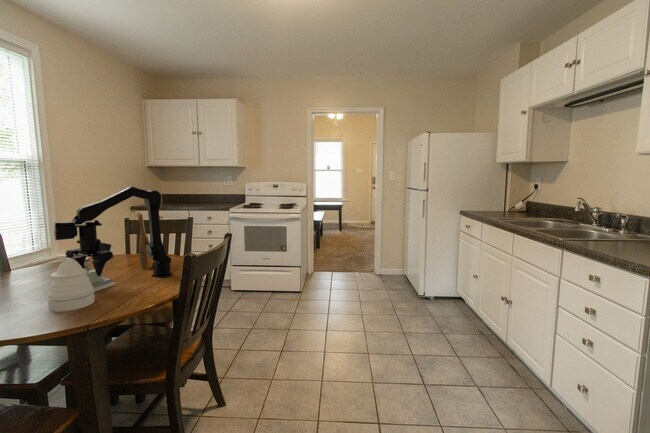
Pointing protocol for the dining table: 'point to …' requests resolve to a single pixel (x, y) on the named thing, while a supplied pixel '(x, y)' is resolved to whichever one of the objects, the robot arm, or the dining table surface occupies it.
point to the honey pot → (69, 287)
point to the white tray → (102, 284)
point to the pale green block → (93, 276)
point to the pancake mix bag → (143, 245)
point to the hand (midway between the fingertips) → (90, 275)
